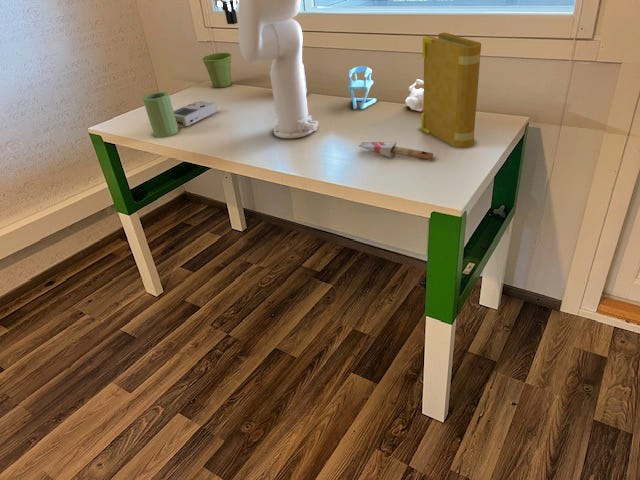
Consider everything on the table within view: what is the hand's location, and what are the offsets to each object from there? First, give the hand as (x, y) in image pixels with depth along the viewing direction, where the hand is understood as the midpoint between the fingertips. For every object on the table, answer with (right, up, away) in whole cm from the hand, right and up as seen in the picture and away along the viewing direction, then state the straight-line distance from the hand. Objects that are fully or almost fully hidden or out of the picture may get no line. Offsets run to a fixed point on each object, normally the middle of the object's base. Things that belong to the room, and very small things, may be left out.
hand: (232, 23), depth 159 cm
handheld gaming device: (-15, -29, +8) cm, 34 cm away
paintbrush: (+48, -48, -31) cm, 75 cm away
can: (+20, -19, +17) cm, 32 cm away
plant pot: (-11, -9, +37) cm, 40 cm away
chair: (+42, -26, +2) cm, 50 cm away
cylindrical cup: (-21, -36, 0) cm, 42 cm away
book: (+64, -42, -25) cm, 81 cm away
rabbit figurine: (+60, -30, -7) cm, 68 cm away
